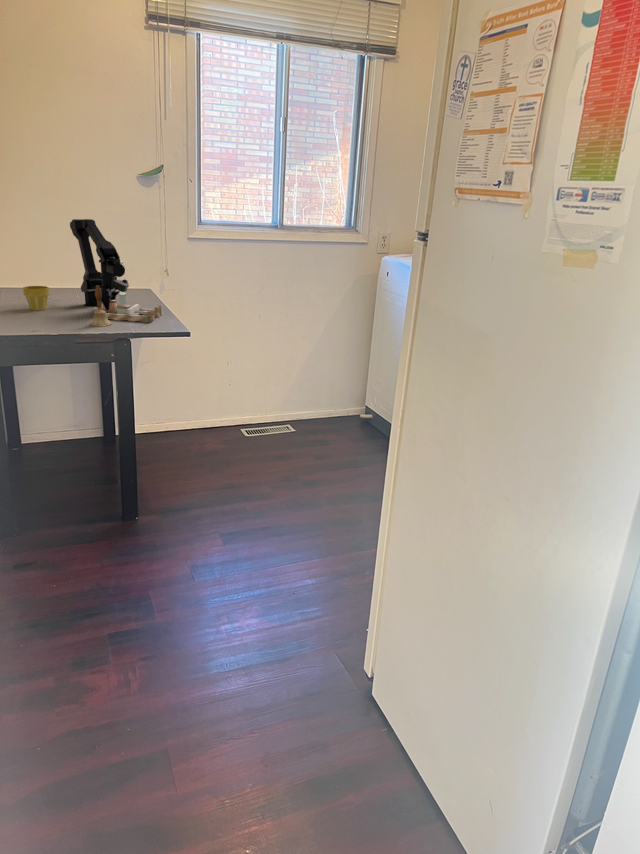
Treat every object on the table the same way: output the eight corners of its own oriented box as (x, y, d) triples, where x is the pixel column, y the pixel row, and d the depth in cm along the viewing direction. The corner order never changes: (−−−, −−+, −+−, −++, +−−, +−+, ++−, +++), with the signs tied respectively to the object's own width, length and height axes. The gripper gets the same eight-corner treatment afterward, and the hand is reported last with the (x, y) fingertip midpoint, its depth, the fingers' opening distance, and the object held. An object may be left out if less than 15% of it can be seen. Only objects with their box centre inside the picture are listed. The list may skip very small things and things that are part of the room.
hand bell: (91, 326, 251) (88, 287, 245) (89, 322, 258) (86, 283, 252) (112, 326, 254) (110, 287, 248) (110, 322, 261) (107, 283, 255)
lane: (103, 319, 265) (102, 308, 264) (116, 312, 280) (115, 302, 279) (151, 322, 265) (150, 311, 263) (161, 315, 280) (161, 305, 279)
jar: (101, 311, 279) (100, 300, 278) (105, 309, 285) (105, 298, 283) (114, 312, 279) (114, 301, 277) (119, 310, 285) (118, 299, 283)
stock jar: (115, 317, 270) (114, 306, 268) (120, 315, 276) (119, 303, 274) (129, 318, 270) (128, 307, 268) (133, 316, 276) (133, 304, 274)
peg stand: (127, 319, 267) (127, 309, 265) (137, 313, 279) (136, 304, 277) (144, 320, 266) (143, 310, 265) (152, 314, 279) (152, 305, 277)
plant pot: (25, 307, 278) (23, 285, 275) (50, 306, 282) (48, 285, 279) (25, 311, 270) (22, 289, 266) (50, 311, 274) (48, 289, 270)
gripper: (118, 277, 267) (120, 313, 273) (132, 272, 285) (134, 306, 290) (93, 276, 267) (95, 312, 273) (108, 270, 285) (110, 304, 291)
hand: (110, 308), depth 282 cm, fingers closed on jar, 6 cm apart
